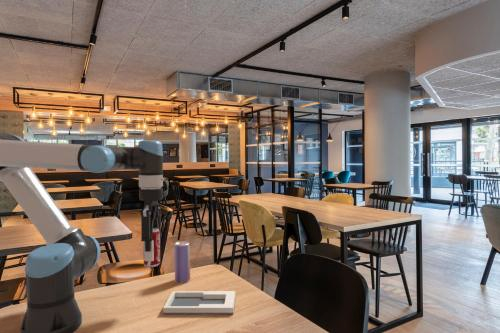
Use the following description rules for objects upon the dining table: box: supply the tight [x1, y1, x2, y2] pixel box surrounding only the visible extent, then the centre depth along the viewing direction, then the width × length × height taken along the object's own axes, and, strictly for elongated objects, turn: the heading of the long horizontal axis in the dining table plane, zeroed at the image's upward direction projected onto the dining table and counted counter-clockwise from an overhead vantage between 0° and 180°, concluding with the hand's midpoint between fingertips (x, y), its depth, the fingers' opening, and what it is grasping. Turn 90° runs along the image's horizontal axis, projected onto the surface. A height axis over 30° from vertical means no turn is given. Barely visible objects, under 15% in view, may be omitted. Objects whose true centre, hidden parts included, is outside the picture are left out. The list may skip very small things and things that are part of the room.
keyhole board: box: [162, 290, 236, 316], centre depth 105 cm, size 22×12×2 cm, turn 89°
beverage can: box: [173, 240, 191, 284], centre depth 126 cm, size 6×6×15 cm
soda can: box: [143, 227, 161, 268], centre depth 105 cm, size 5×5×12 cm
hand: (151, 257), depth 105 cm, fingers closed on soda can, 5 cm apart
